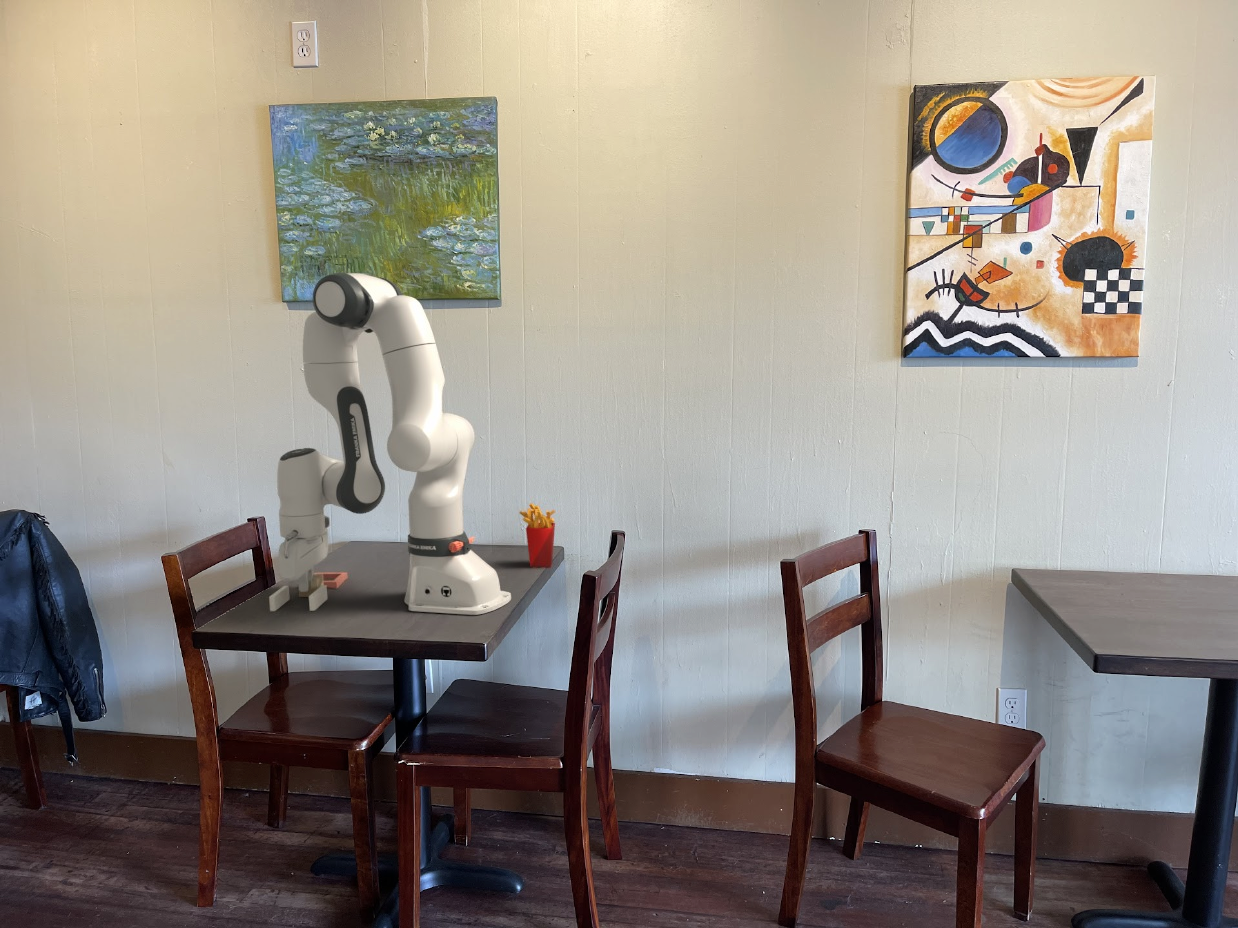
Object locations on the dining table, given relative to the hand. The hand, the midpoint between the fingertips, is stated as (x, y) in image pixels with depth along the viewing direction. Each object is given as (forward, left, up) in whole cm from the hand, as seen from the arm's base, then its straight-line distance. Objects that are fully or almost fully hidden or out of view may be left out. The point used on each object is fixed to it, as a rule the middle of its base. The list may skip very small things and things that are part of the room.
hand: (305, 589), depth 181 cm
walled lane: (-2, +4, -2) cm, 5 cm away
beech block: (+2, -3, -2) cm, 4 cm away
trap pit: (+5, -11, -2) cm, 12 cm away
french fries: (-32, -43, -2) cm, 53 cm away
